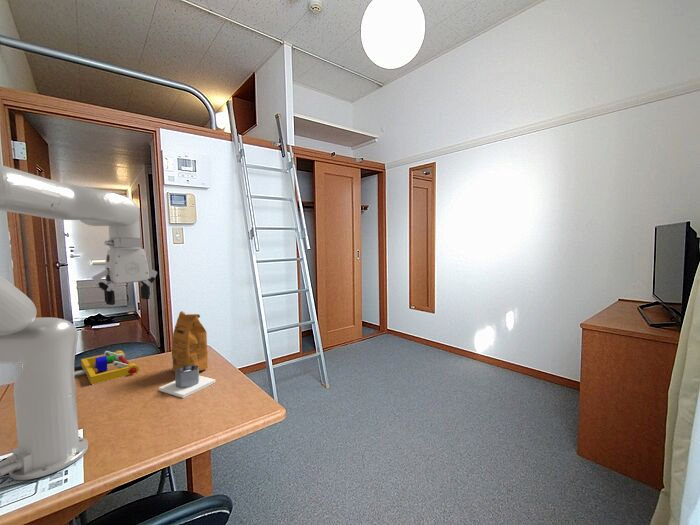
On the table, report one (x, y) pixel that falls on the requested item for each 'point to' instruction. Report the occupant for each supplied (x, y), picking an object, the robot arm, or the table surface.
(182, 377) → the ring
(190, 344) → the coffee package
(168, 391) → the stand
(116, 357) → the yellow toy tray
